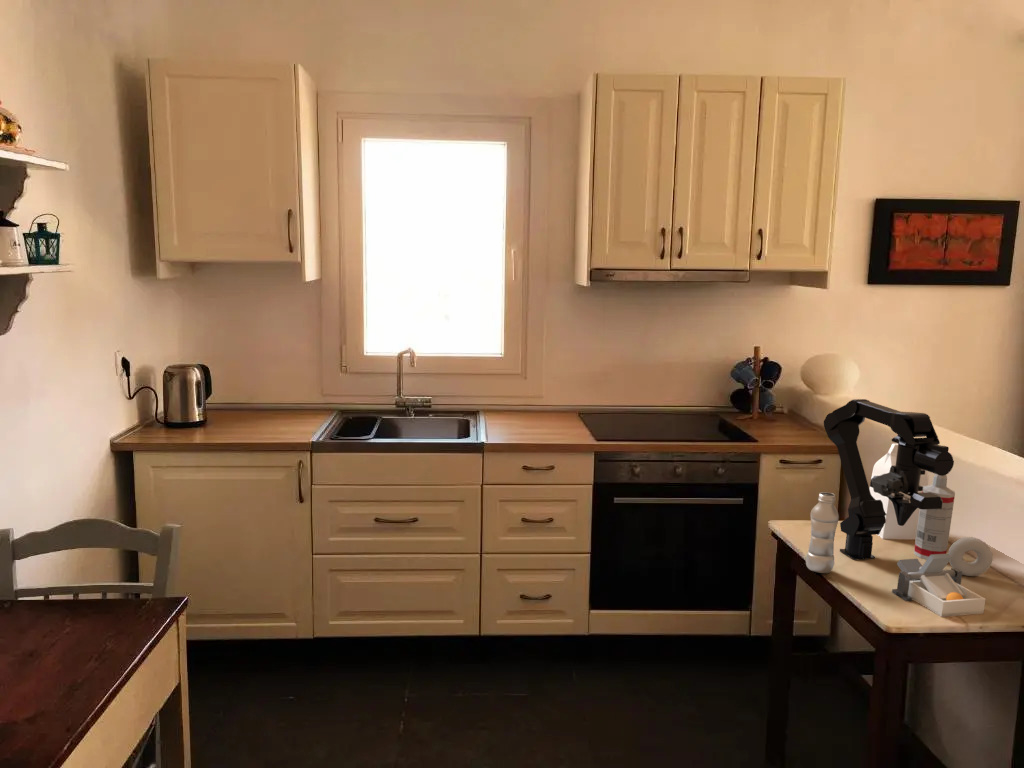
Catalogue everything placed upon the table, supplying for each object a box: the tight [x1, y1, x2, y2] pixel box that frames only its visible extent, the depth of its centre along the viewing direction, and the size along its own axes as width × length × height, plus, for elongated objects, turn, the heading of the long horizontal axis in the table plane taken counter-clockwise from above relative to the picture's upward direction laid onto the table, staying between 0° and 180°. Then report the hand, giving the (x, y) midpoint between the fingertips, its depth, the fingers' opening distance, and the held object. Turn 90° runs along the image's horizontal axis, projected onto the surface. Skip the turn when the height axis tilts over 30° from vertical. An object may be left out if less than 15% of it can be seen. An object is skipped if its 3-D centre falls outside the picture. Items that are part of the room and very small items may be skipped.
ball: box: [946, 592, 963, 601], centre depth 182 cm, size 4×4×4 cm
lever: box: [896, 553, 964, 599], centre depth 189 cm, size 14×12×10 cm
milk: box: [869, 443, 929, 540], centre depth 230 cm, size 12×12×26 cm
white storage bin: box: [908, 580, 986, 618], centre depth 185 cm, size 11×11×4 cm
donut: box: [947, 536, 994, 577], centre depth 202 cm, size 10×4×10 cm, turn 74°
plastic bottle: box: [805, 491, 840, 574], centre depth 200 cm, size 6×7×20 cm
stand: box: [891, 567, 963, 602], centre depth 190 cm, size 5×16×6 cm, turn 104°
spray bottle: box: [913, 474, 956, 561], centre depth 213 cm, size 8×8×25 cm
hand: (900, 525), depth 199 cm, fingers closed
